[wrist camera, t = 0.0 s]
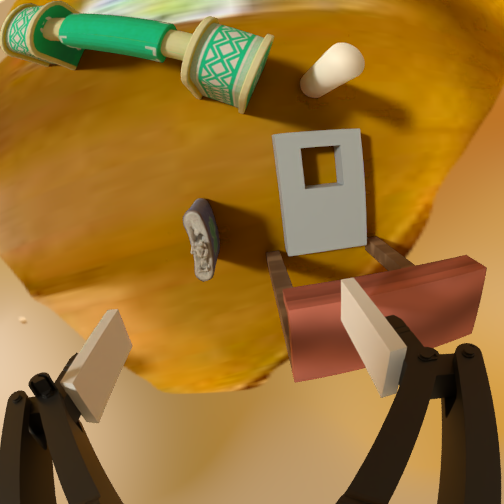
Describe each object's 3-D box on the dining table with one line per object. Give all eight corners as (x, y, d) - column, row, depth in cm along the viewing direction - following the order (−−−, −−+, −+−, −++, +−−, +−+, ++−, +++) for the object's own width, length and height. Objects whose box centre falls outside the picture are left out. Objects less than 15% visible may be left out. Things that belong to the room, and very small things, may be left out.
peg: (297, 73, 36) (324, 42, 23) (324, 72, 36) (360, 43, 23) (301, 98, 38) (330, 77, 24) (328, 97, 38) (367, 78, 24)
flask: (191, 199, 42) (177, 216, 32) (211, 195, 42) (202, 211, 32) (204, 258, 45) (196, 291, 35) (223, 255, 45) (220, 287, 35)
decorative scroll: (265, 63, 36) (279, 24, 22) (243, 114, 38) (245, 96, 24) (65, 23, 30) (16, -4, 16) (46, 66, 33) (-10, 51, 18)
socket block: (271, 135, 39) (274, 134, 36) (352, 129, 39) (359, 128, 36) (285, 249, 45) (288, 256, 42) (359, 238, 45) (366, 244, 42)
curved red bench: (261, 220, 43) (288, 310, 20) (375, 206, 43) (486, 267, 20) (267, 264, 46) (294, 382, 22) (376, 248, 46) (471, 333, 22)
